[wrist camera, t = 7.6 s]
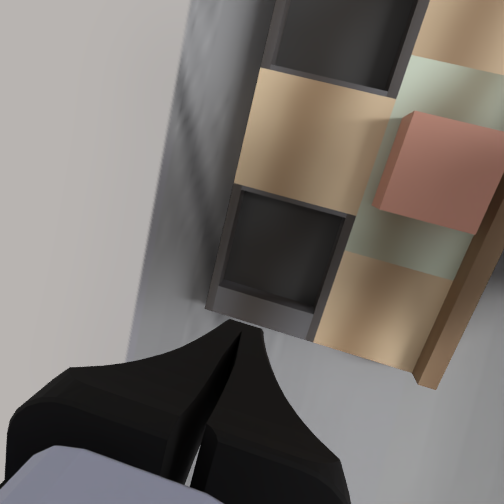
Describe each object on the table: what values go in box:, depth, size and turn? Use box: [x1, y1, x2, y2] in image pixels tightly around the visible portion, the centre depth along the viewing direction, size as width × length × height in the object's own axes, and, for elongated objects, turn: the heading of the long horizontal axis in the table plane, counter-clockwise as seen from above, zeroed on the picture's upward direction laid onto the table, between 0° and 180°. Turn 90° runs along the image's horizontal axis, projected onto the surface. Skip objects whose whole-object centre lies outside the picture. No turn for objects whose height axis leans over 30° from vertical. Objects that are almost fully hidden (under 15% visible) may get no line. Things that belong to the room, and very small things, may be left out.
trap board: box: [205, 0, 504, 390], centre depth 17 cm, size 14×22×3 cm, turn 166°
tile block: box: [372, 111, 504, 235], centre depth 16 cm, size 4×4×2 cm
